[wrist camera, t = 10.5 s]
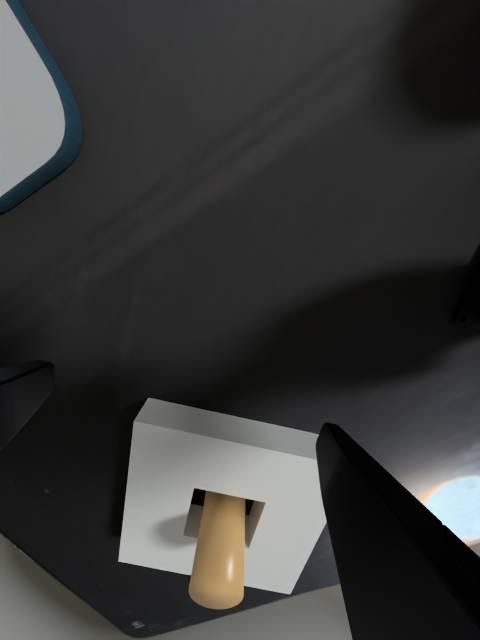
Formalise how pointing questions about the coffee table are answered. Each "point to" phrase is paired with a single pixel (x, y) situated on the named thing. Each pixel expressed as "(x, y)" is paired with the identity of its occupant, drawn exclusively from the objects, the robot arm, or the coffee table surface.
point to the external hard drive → (32, 110)
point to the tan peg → (219, 553)
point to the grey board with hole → (221, 490)
